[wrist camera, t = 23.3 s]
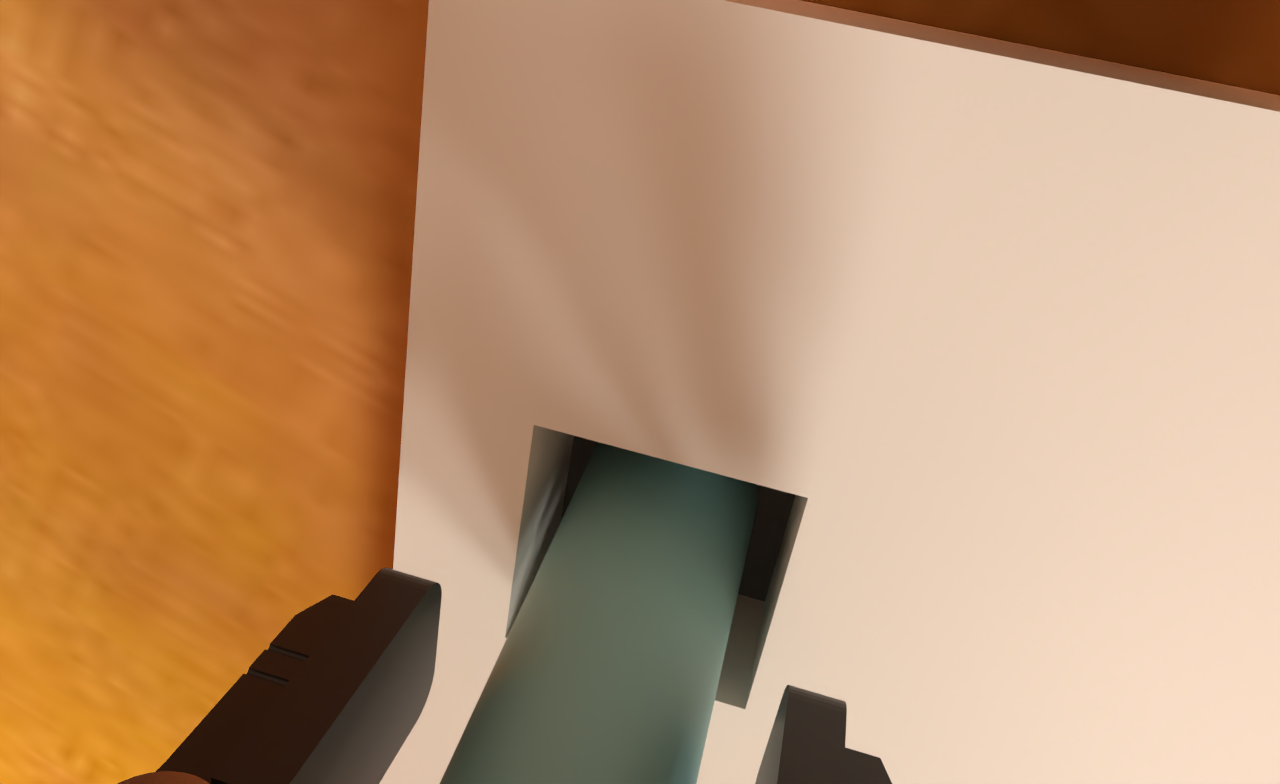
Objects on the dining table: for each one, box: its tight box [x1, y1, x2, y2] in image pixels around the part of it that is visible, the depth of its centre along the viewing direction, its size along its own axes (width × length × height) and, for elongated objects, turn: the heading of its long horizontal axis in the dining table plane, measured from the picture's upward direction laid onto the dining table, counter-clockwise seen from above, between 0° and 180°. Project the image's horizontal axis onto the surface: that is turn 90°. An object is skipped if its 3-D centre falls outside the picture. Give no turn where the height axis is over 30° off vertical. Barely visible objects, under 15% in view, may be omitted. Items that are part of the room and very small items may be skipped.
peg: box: [440, 442, 758, 784], centre depth 13 cm, size 3×3×9 cm
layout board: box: [380, 0, 1280, 784], centre depth 15 cm, size 16×14×3 cm
